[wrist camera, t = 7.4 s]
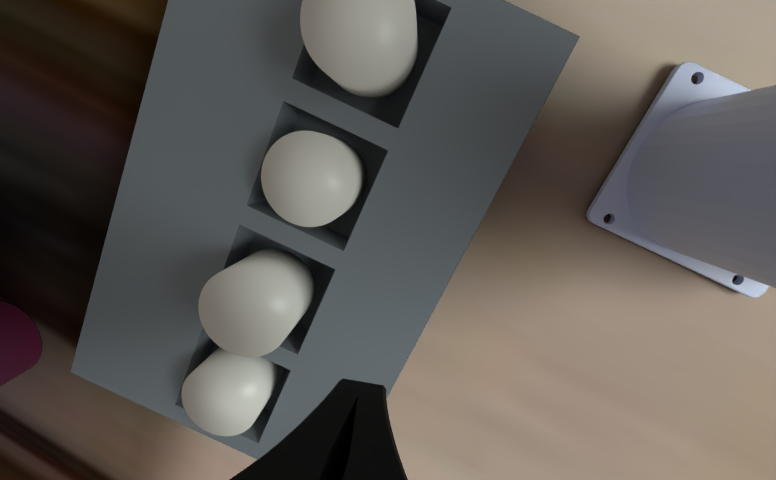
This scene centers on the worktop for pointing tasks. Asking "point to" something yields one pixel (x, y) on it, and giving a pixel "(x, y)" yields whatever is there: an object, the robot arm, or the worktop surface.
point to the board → (269, 230)
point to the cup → (17, 342)
